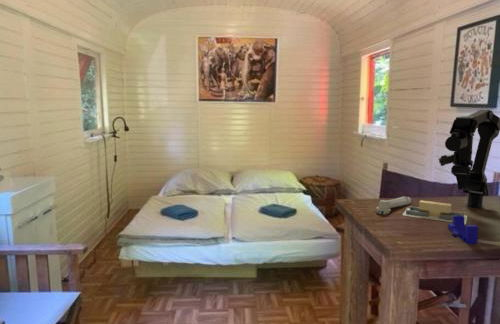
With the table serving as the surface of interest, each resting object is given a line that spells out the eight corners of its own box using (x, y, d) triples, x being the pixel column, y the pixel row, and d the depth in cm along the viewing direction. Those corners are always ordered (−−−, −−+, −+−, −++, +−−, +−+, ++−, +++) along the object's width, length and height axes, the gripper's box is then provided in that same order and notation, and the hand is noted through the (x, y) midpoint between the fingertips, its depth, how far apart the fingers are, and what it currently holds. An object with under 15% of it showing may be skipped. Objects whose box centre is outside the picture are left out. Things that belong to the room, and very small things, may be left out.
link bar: (419, 212, 152) (420, 200, 152) (450, 216, 147) (451, 204, 146) (418, 214, 150) (419, 202, 149) (449, 218, 144) (450, 205, 143)
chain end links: (409, 209, 156) (409, 206, 156) (464, 216, 146) (464, 213, 146) (405, 213, 151) (406, 210, 150) (463, 221, 140) (463, 218, 140)
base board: (407, 209, 159) (407, 207, 159) (467, 218, 148) (467, 215, 147) (401, 217, 149) (402, 215, 149) (465, 226, 138) (465, 224, 137)
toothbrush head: (413, 197, 166) (387, 200, 148) (412, 212, 166) (385, 216, 149) (402, 195, 169) (374, 197, 152) (400, 209, 170) (373, 213, 152)
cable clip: (447, 231, 134) (448, 215, 133) (461, 231, 133) (462, 215, 132) (461, 244, 122) (463, 226, 121) (476, 244, 121) (478, 226, 120)
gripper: (443, 144, 159) (441, 180, 162) (437, 150, 144) (435, 190, 147) (474, 145, 153) (471, 182, 156) (471, 152, 138) (468, 193, 141)
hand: (461, 186), depth 150 cm, fingers open, 9 cm apart
